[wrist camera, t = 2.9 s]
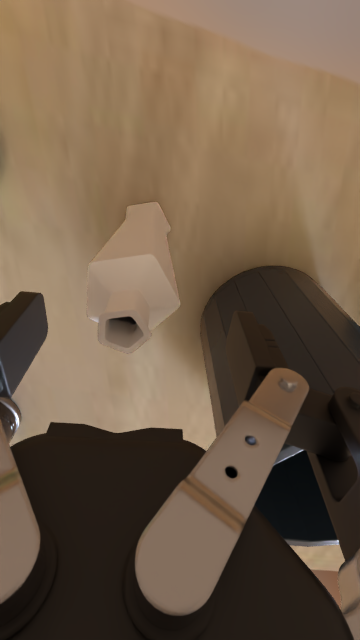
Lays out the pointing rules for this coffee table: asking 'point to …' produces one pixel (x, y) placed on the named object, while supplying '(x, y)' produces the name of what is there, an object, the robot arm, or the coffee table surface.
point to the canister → (302, 357)
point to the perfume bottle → (133, 280)
